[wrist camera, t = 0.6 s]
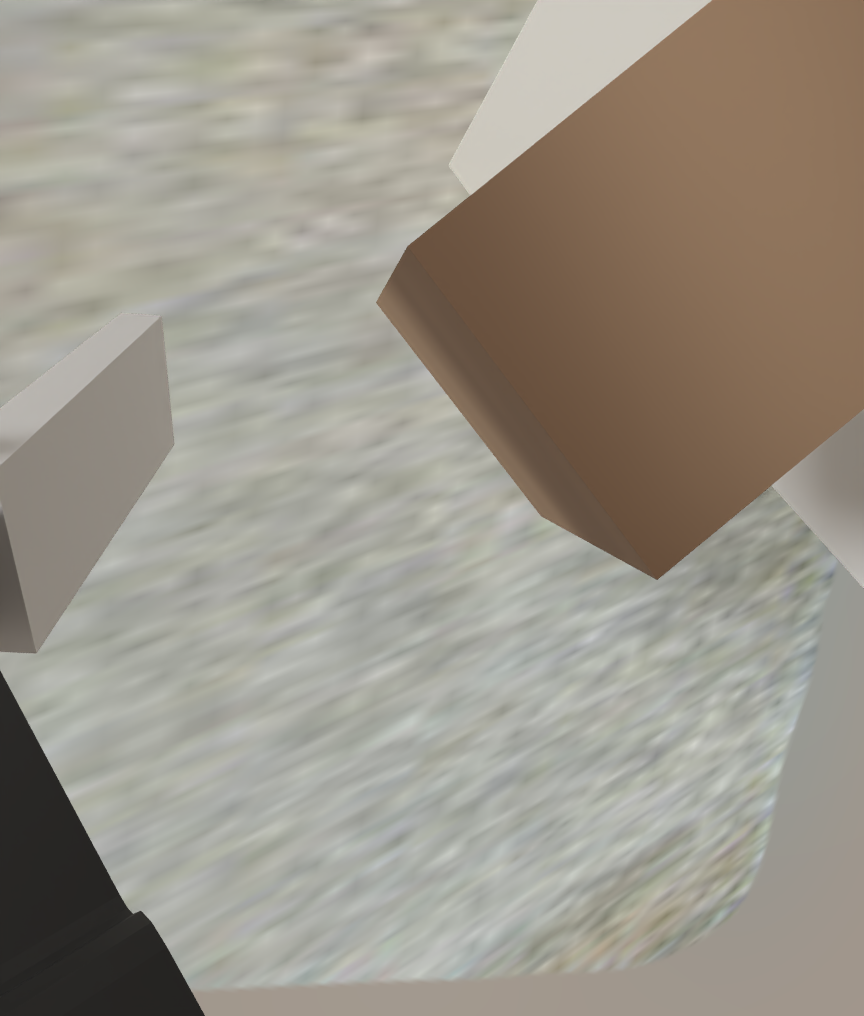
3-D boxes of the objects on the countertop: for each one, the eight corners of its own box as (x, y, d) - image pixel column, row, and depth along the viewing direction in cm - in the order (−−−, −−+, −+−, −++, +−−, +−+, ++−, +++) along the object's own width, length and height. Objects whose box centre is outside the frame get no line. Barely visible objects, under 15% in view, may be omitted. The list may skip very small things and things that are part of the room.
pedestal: (587, 359, 39) (1394, 245, 10) (448, 165, 36) (964, -791, 7) (789, 193, 39) (2180, -411, 10) (665, -10, 37) (2027, -1631, 7)
